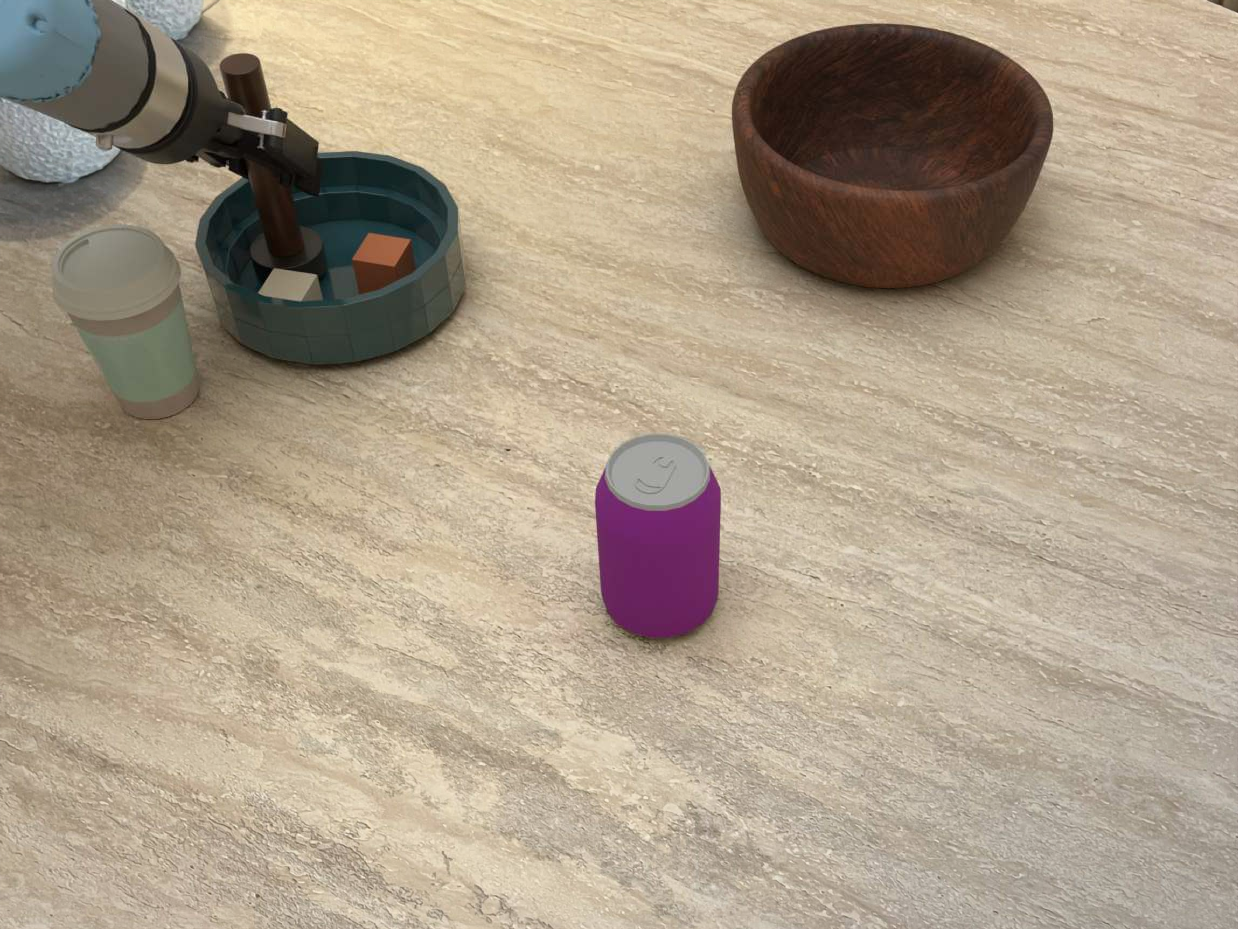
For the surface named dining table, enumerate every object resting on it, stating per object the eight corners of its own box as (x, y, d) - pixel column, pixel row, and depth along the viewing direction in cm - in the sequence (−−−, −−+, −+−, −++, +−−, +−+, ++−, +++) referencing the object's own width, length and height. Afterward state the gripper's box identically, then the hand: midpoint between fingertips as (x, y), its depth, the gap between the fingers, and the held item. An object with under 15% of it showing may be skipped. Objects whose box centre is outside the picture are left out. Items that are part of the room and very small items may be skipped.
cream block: (266, 334, 111) (255, 296, 108) (283, 305, 113) (273, 267, 110) (309, 340, 111) (299, 302, 108) (326, 311, 113) (317, 274, 110)
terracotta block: (359, 297, 114) (351, 259, 111) (376, 270, 116) (368, 232, 113) (401, 304, 113) (394, 266, 111) (417, 276, 115) (411, 239, 113)
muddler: (244, 284, 114) (184, 79, 100) (272, 241, 117) (218, 37, 104) (311, 294, 113) (261, 89, 100) (337, 251, 116) (292, 47, 103)
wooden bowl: (954, 113, 131) (973, 0, 123) (1083, 279, 117) (1113, 164, 109) (689, 161, 126) (690, 47, 118) (789, 340, 112) (797, 224, 104)
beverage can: (637, 543, 99) (632, 409, 90) (738, 582, 97) (744, 449, 87) (580, 620, 95) (568, 487, 86) (684, 663, 93) (684, 532, 83)
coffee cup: (150, 342, 112) (99, 206, 102) (241, 375, 109) (198, 239, 100) (75, 411, 107) (15, 274, 97) (168, 447, 105) (117, 311, 95)
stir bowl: (174, 351, 111) (151, 285, 106) (274, 202, 123) (257, 137, 118) (419, 389, 109) (407, 324, 104) (498, 233, 120) (490, 169, 115)
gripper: (11, 135, 91) (193, 211, 114) (250, 168, 89) (386, 238, 112) (22, 9, 90) (204, 112, 113) (264, 40, 88) (398, 137, 111)
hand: (294, 174), depth 113 cm, fingers closed on muddler, 3 cm apart
